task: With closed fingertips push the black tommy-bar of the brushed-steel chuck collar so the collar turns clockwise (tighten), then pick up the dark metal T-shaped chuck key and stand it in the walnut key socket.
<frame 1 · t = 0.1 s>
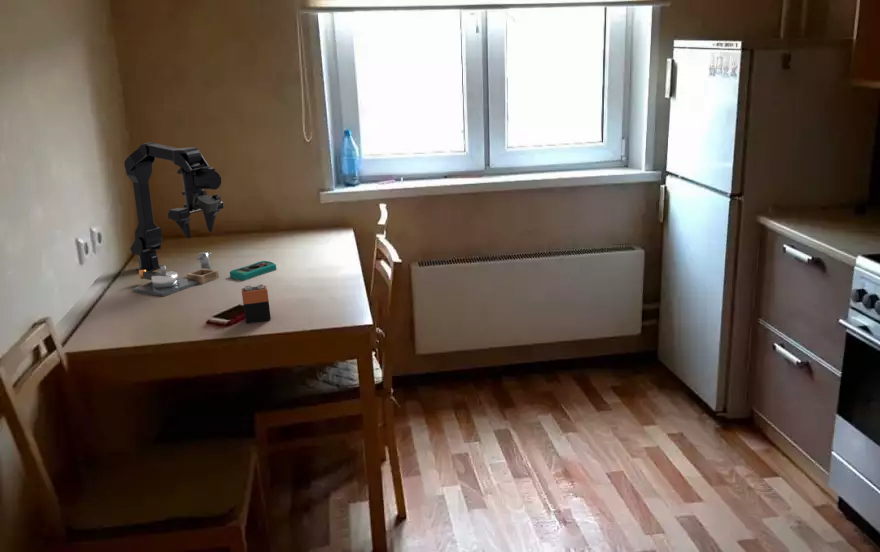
hand: (200, 235, 254), 15 cm above the table, fingers open, 9 cm apart
key socket: (203, 279, 257), on the table
chuck base: (166, 287, 250), on the table
battery: (258, 320, 216), on the table
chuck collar: (156, 273, 251), point 4 cm above the table, hinge at 0.0°
chuck key: (206, 273, 264), on the table
digital multimeter: (253, 275, 261), on the table
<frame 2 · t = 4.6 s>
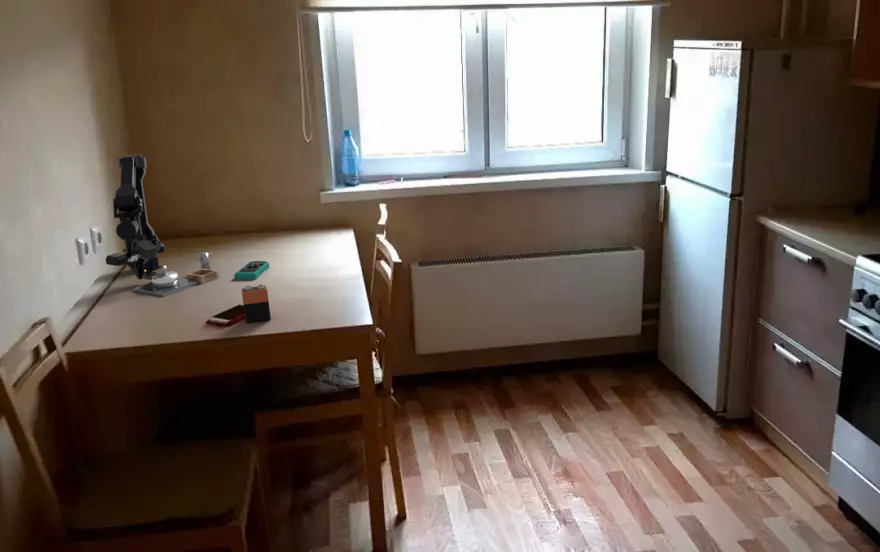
hand: (140, 279, 252), 2 cm above the table, fingers closed
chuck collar: (156, 273, 251), point 4 cm above the table, hinge at 0.0°, touching gripper
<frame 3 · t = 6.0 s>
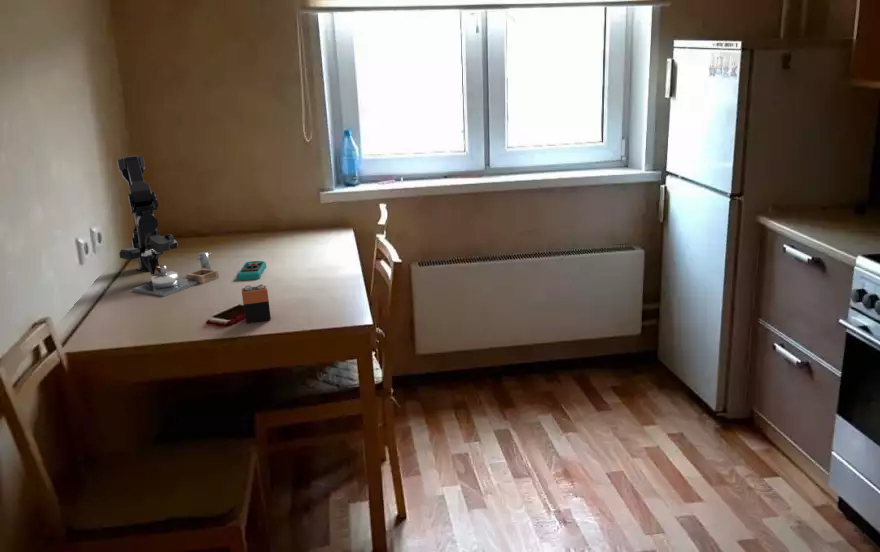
hand: (152, 274, 255), 3 cm above the table, fingers closed
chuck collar: (161, 272, 252), point 4 cm above the table, hinge at 26.6°, touching gripper
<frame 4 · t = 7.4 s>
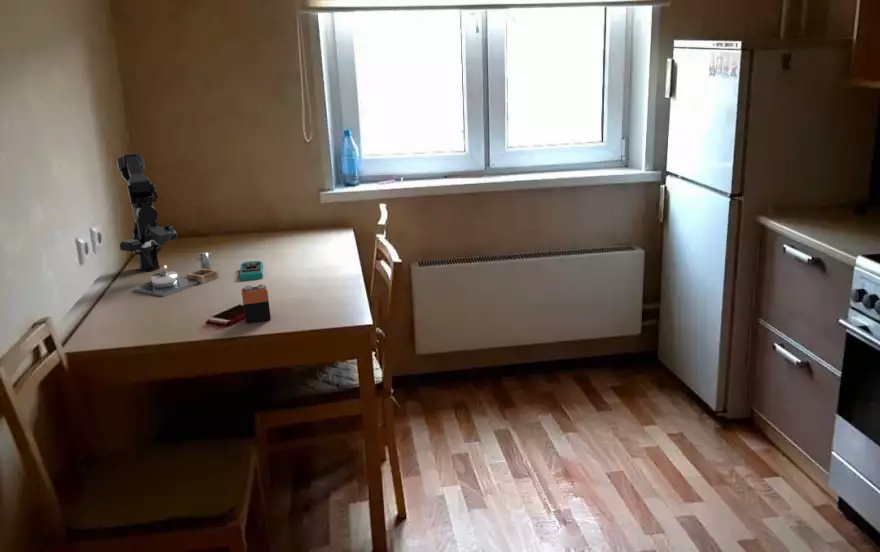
hand: (153, 265, 255), 6 cm above the table, fingers closed
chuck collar: (164, 272, 252), point 4 cm above the table, hinge at 38.4°
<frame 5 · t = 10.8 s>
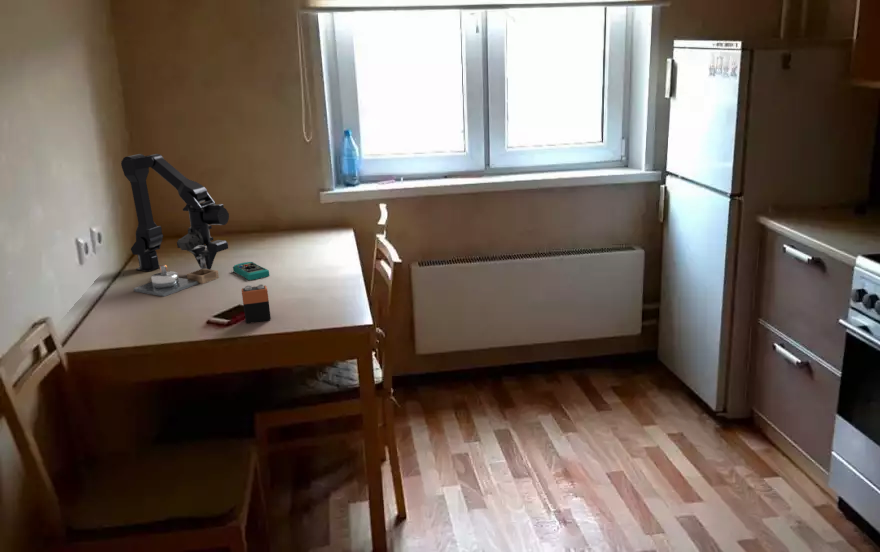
hand: (205, 268, 264), 2 cm above the table, fingers closed on chuck key, 3 cm apart
chuck key: (206, 273, 264), on the table, touching gripper
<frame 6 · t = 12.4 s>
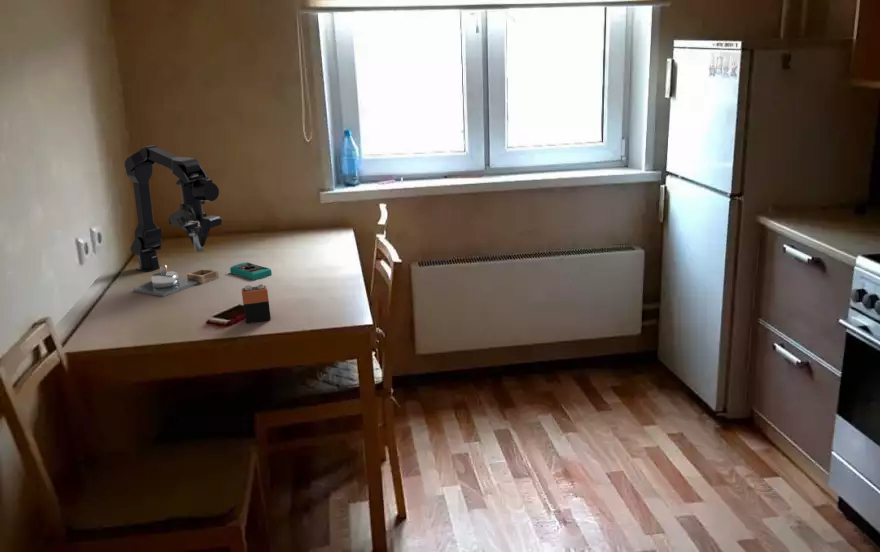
hand: (198, 246, 253), 11 cm above the table, fingers closed on chuck key, 3 cm apart
chuck key: (199, 250, 254), point 10 cm above the table, touching gripper
when the fingers open (3 cm above the table, at t = 14.1 s): chuck key drops 1 cm, resting in key socket.
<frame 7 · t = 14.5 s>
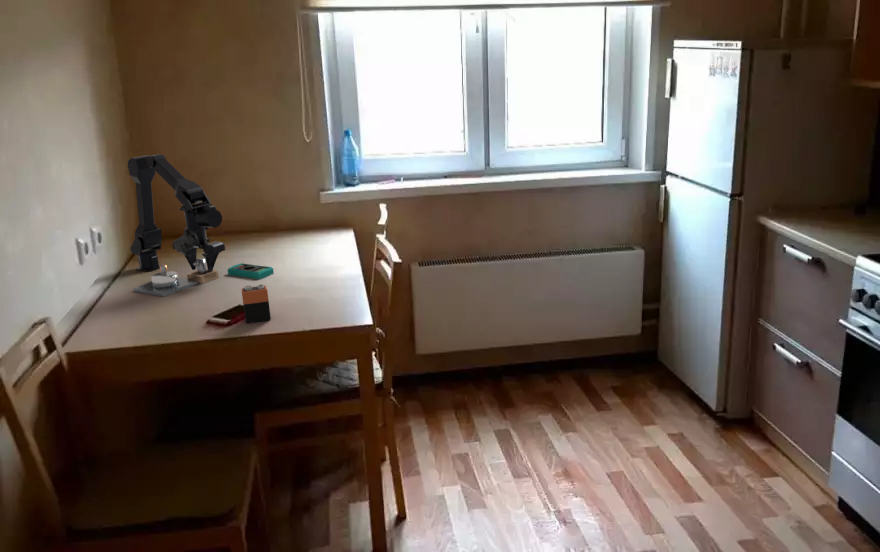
hand: (202, 270, 256), 3 cm above the table, fingers open, 7 cm apart
chuck key: (203, 279, 257), resting in key socket
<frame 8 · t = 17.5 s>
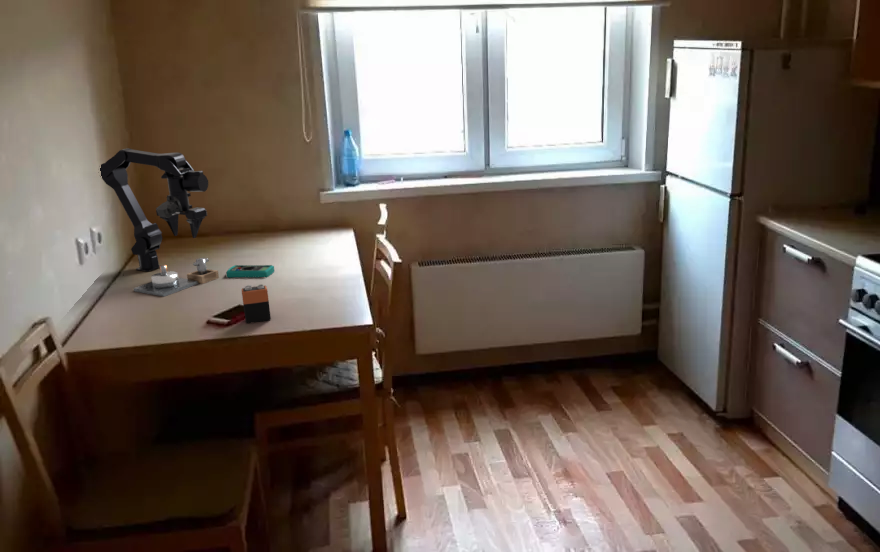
hand: (185, 236, 264), 12 cm above the table, fingers open, 9 cm apart
at the end: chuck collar at +38° (first picture: +0°); chuck key 0.0 cm off-centre on the key socket, point 0.0 cm above the key socket's base; chuck key tilted 0° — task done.
